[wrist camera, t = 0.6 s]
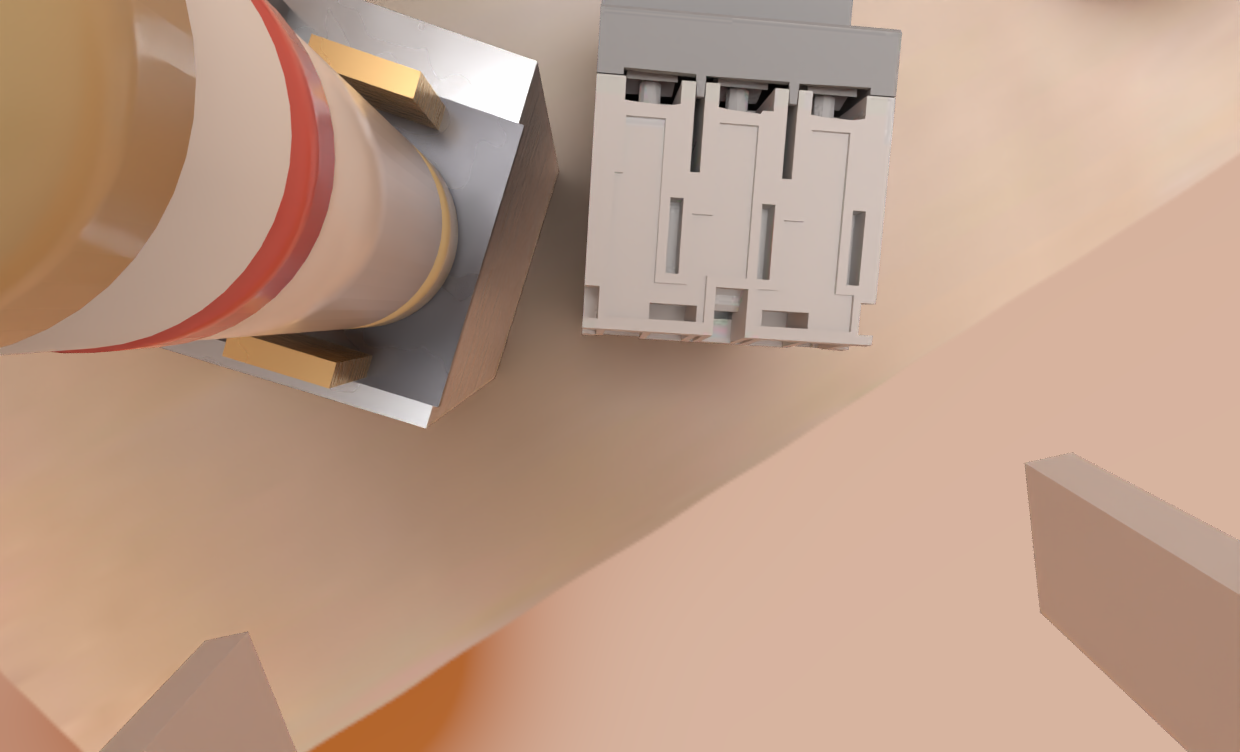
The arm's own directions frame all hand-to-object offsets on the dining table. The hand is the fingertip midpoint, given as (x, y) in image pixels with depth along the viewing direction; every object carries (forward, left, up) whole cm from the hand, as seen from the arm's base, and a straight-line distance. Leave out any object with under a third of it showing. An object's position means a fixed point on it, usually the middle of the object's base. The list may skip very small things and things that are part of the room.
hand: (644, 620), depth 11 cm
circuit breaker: (-12, 0, -22) cm, 25 cm away
